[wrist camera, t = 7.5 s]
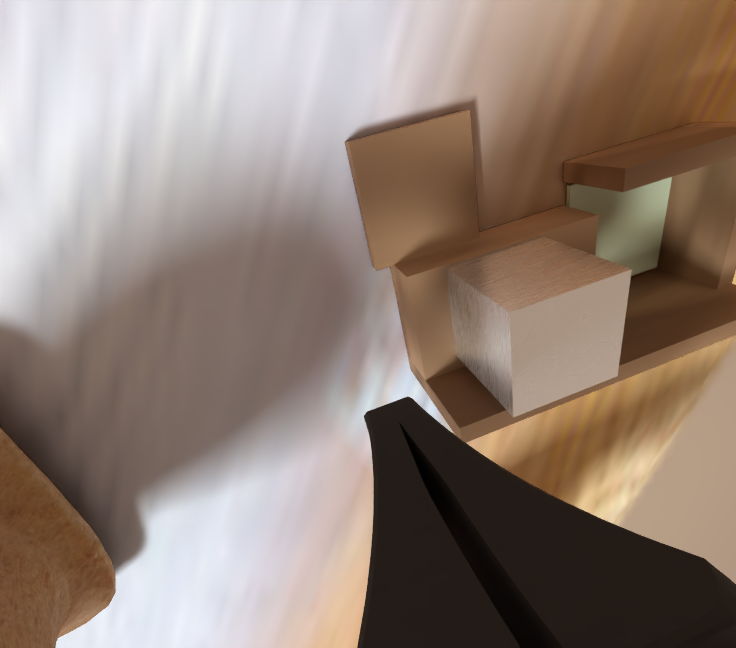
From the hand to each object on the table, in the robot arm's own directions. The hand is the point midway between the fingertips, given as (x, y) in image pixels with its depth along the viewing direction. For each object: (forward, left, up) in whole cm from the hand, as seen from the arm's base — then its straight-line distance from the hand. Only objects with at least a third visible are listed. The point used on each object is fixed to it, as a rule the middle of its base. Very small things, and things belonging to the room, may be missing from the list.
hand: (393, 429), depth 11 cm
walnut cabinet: (+2, -9, -6) cm, 12 cm away
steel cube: (0, -6, -4) cm, 7 cm away
